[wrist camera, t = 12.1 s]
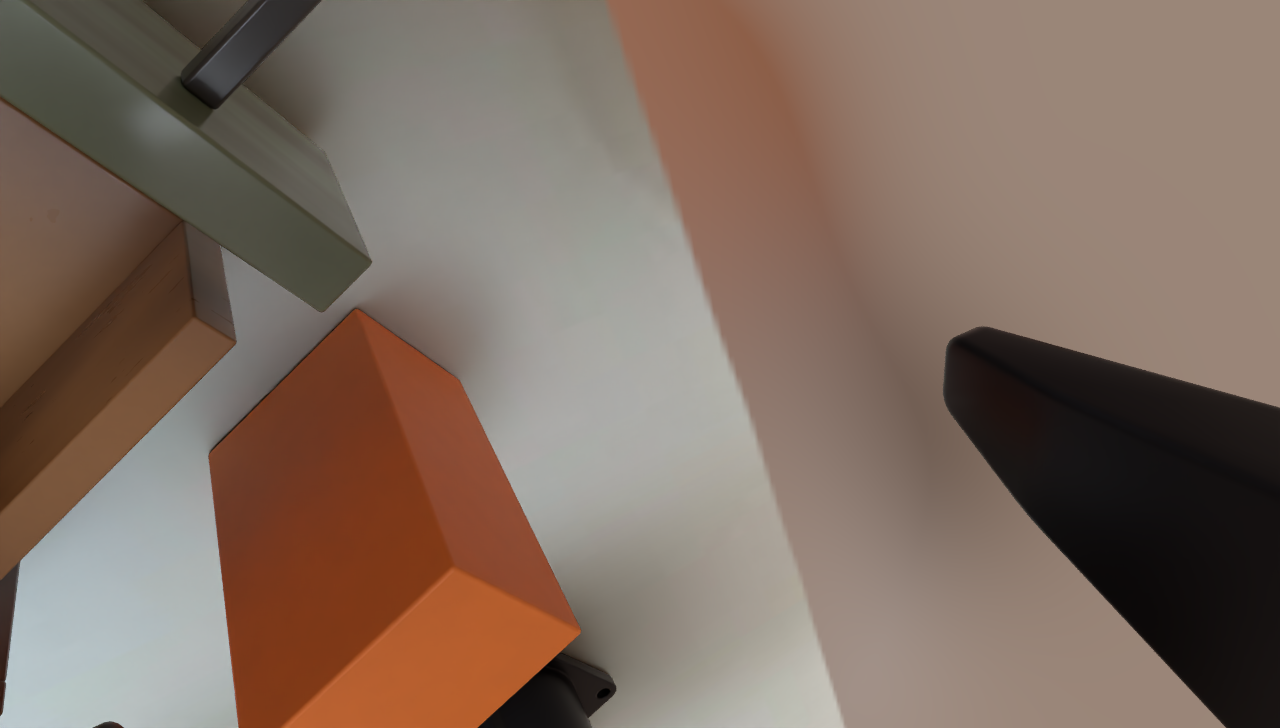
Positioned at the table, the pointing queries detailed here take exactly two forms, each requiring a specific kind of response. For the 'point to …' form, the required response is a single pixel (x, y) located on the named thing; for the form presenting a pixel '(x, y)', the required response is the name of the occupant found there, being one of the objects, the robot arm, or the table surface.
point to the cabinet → (6, 623)
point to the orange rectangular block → (376, 549)
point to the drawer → (137, 230)
